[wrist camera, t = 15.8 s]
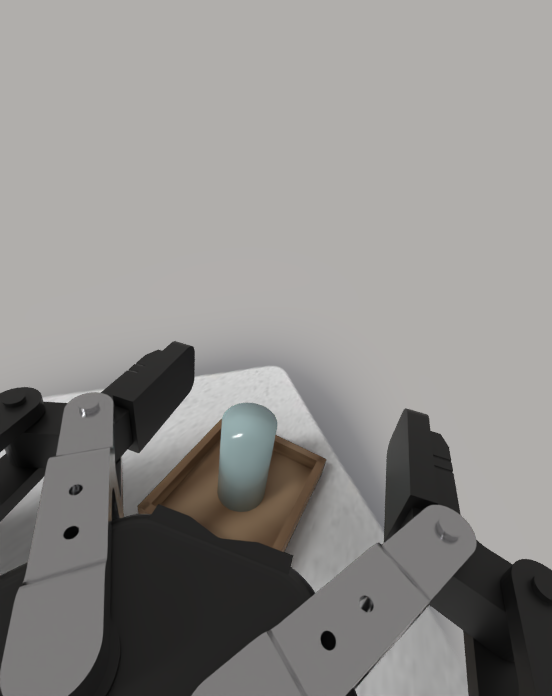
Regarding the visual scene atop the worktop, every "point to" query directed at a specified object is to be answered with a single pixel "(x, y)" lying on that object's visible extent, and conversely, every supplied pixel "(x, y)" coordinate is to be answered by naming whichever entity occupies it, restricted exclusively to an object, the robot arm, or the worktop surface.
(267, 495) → the tray
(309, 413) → the worktop surface
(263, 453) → the pale blue cylinder
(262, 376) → the worktop surface
